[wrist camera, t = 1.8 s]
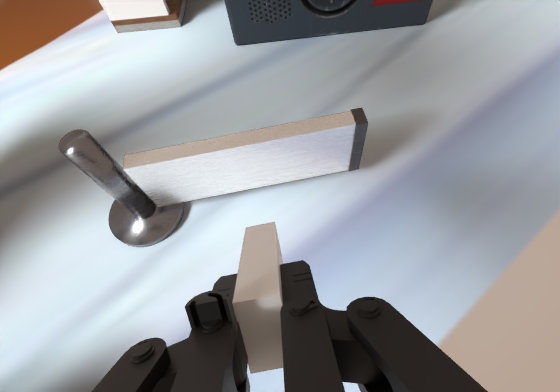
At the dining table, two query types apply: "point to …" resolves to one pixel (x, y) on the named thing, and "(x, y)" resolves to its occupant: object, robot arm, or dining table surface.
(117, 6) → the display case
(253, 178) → the swing panel
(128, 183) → the panel post
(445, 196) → the dining table surface
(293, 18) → the power unit
